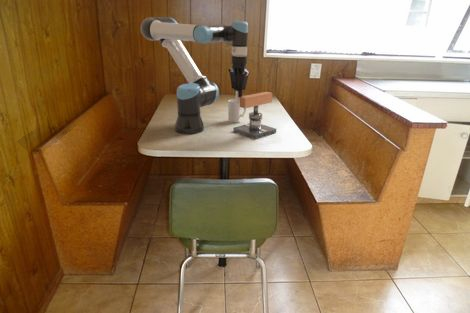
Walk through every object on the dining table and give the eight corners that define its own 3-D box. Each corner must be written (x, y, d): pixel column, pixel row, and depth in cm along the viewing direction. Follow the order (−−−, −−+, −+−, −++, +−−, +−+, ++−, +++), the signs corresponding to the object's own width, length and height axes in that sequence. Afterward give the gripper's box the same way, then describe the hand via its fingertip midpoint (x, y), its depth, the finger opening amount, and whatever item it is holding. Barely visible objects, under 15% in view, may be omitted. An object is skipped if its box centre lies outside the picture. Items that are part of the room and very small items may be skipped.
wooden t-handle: (237, 120, 172) (237, 96, 167) (263, 113, 185) (264, 91, 180) (246, 123, 167) (247, 98, 163) (272, 116, 180) (274, 93, 176)
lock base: (233, 131, 179) (233, 118, 176) (254, 125, 189) (254, 113, 187) (255, 139, 168) (256, 125, 166) (276, 132, 179) (277, 119, 176)
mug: (227, 122, 193) (227, 101, 188) (228, 119, 199) (228, 99, 195) (245, 123, 193) (245, 102, 188) (245, 119, 199) (246, 99, 194)
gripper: (224, 54, 167) (224, 101, 176) (243, 57, 158) (241, 106, 167) (235, 53, 172) (234, 99, 181) (254, 56, 163) (252, 104, 172)
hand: (238, 103), depth 174 cm, fingers closed
